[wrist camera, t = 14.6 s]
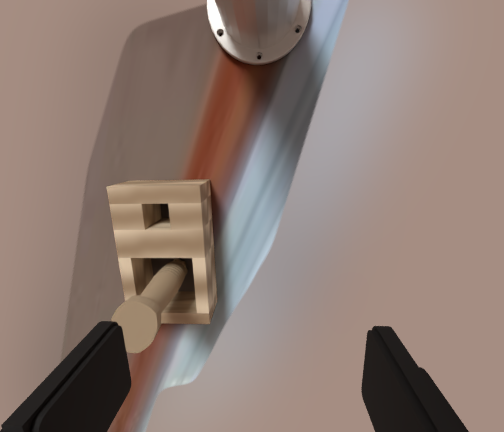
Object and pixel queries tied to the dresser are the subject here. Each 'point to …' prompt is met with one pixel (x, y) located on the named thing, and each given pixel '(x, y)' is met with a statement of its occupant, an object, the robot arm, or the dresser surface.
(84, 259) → the dresser surface
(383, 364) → the robot arm
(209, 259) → the socket block
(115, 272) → the dresser surface
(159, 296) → the handle
